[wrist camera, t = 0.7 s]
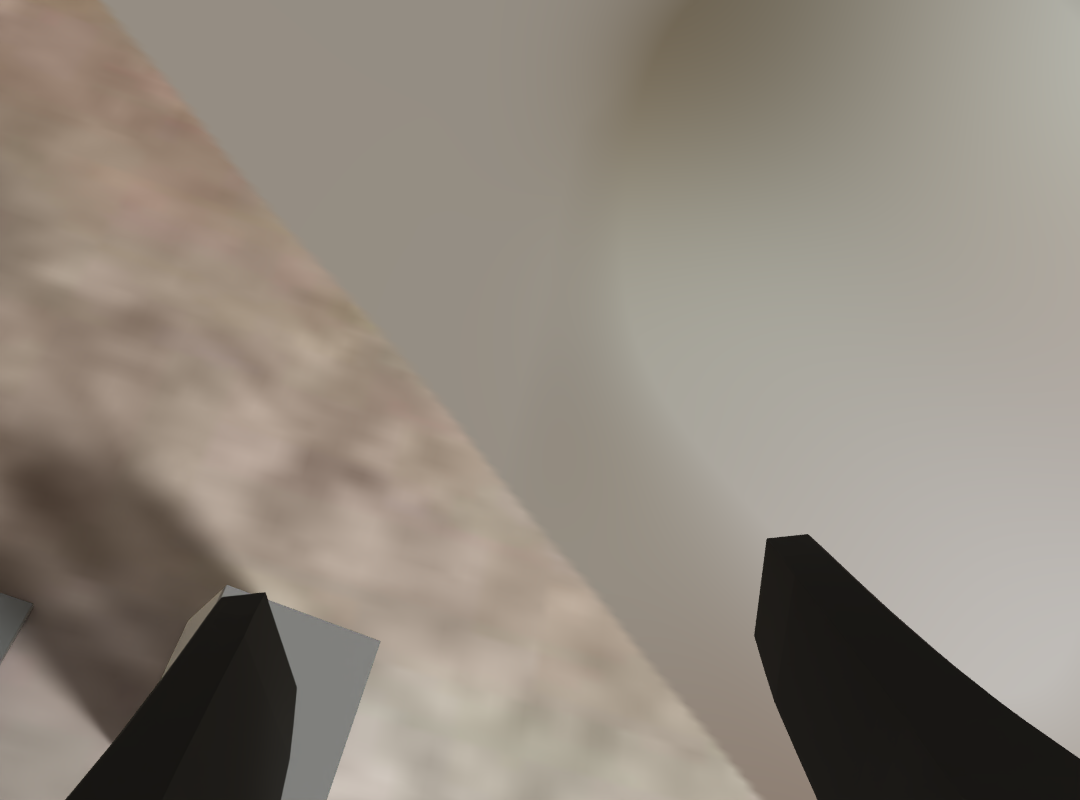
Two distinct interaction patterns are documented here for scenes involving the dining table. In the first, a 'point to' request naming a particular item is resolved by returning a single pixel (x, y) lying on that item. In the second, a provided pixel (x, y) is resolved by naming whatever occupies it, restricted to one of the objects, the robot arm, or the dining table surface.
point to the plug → (312, 690)
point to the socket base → (11, 620)
